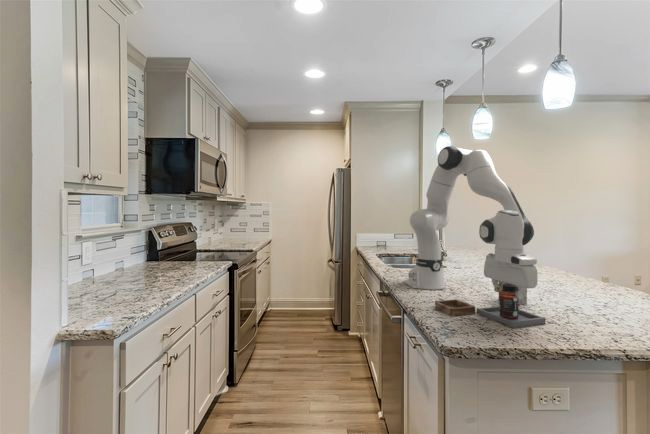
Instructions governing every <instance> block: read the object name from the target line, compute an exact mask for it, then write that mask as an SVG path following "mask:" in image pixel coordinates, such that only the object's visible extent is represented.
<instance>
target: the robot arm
mask: <svg viewBox="0 0 650 434" xmlns="http://www.w3.org/2000/svg"><path fill="white" fill-rule="evenodd" d="M461 175H463V176H464V177H466V178H467V183H468V186H469V188H470V190H471V191H472V193H474V194H476V195H478V196H481V197H484V198H485V197H486V198H488V199H492V200H494V201H497V203H499V204H500V205H501V206H502V209H501V210H499V211H497V212H496V214H495V215H494V216H493V217H490V218H488V219H485V220H484V221H483V222H482V223H480V226H479V231H478V232H479V234H478V235H479V238H480V239H481V240H482V241H483V242H484V243H485V244H488V245H495V246H494V253H493V252H489V253H487V255H486V257H485V261H484V264H483V275H484V277H485V278H488V279H491V283H492V285H493V291H494V292H495V293H499V292H500V291H501V287H499V281H502V282H506V283H509V284H513V285H517V286H518V289H520V290H519V291H518V293H515V295H516V296H515V297H516V298H517V299H523V294H524V292H525V291H526V288H527V289H535V288H536V287H537V286H538V268H537V267H536V265H537V263H538V262H537V261H538V260H537V258H536V257H535V256H532V255H530V254H529V253H527V252H525V251H524V246H526V245H527V244H528V243H530V242H531V241H532V240H533V238H534V235H535V230H534V226H533V225H532V223H531V221H530V220H529V218H527V217H526V215H525V213H524V211H523V209H522V207H521V205H520V203H519V201H518V199H517V197H516V196H515V193H514V192H513V190H512V188H511V186H510V185H508V184H507V183H505V182H504V181H503V180H502V179H501V178H500V176H499V175H498V173H497V171H496V167H495V165H494V163H493V160H492V158H491V156H490V155H489V153H488V152H487V151H486V150H483V149H475V150H471V149H468V148H461V147H456V146H445V147H443V148H442V149H440V152H439V153H438V156H437V166H436V168H435V170H434V172H433V174H432V176H431V179H430V182H429V185H428V187H427V191H426V195H425V196H426V198H427V205H426V208H421V209H418V210H416V211H413V213H411V215H410V217H409V224H410V226H411V228H412V229H413V230H414V233H415V236H416V241H417V258H416V259H415V266H413V267H412V268H411V269H410V270H409V271H408V274H407V275H408V276H407V277H408V278H407V279H403V283H405V284H407V285H408V286H409V287H411V288H413V289H422V290H423V289H424V290H442V289H445V287H446V286H447V283H445V275H444V269H443V267H442V266H443V259H442V243H441V241H440V240H439V237H438V235H437V234H438V233H437V231H439V230H442V229H444V228H445V227H446V226H447V225H448V223H449V216H448V211H449V210H448V209H449V208H448V206H449V201H450V198H451V196H452V193H453V190H454V187H455V184H456V182H457V179H458V177H459V176H461Z"/></svg>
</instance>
